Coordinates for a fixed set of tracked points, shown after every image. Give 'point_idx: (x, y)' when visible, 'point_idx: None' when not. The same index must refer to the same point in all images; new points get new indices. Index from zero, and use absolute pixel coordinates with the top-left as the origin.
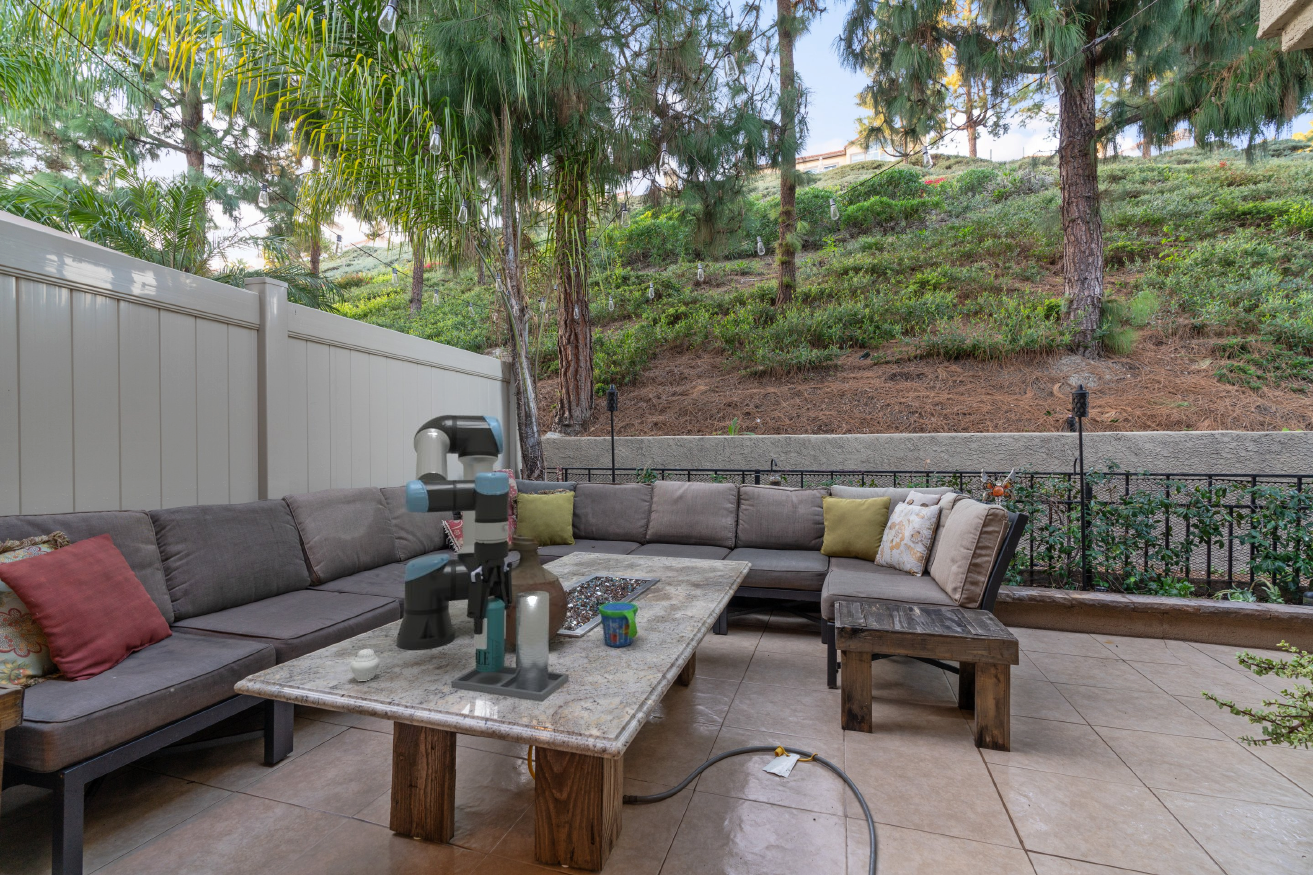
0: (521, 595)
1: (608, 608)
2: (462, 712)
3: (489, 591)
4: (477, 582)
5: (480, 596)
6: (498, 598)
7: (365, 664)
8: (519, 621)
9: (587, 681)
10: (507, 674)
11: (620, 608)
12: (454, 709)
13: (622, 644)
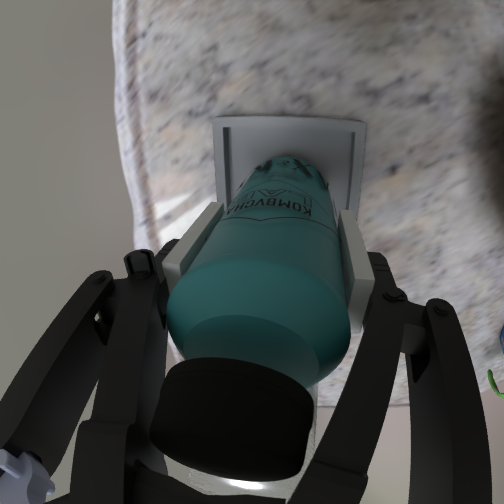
0: (217, 482)
1: None
2: (155, 206)
3: None
4: (29, 450)
5: (84, 397)
6: (309, 383)
7: None
8: None
9: (352, 346)
10: (340, 206)
11: None
12: (157, 183)
13: (500, 341)
